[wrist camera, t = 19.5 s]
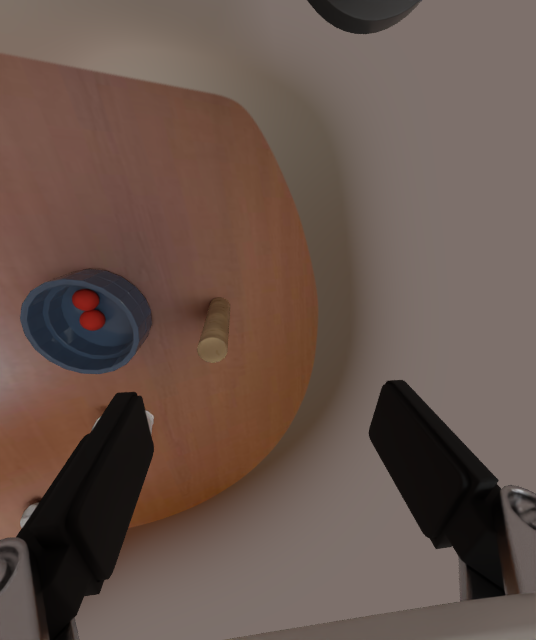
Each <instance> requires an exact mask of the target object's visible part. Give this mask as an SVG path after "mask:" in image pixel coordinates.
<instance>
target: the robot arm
mask: <svg viewBox="0 0 536 640" xmlns="http://www.w3.org/2000/svg"><path fill="white" fill-rule="evenodd" d="M369 437H370V440H371V442H372V443H373V445H374V447H375V449H376V451H377V452H378V454H379V456H380V458H381V460H382V461H383V463H384V465H385V467H386V469H387V470H388V472H389V474H390V476H391V477H392V479H393V481H394V483H395V485H396V486H397V488H398V490H399V492H400V493H401V495H402V497H403V499H404V500H405V502H406V504H407V506H408V508H409V509H410V511H411V513H412V515H413V516H414V518H415V520H416V522H417V523H418V525H419V527H420V529H421V531H422V532H423V534H424V535H425V536H426V537H428V538H430V540H431V541H432V543H433V545H434V547H435V548H436V549H440V548H447V547H451V546H453V548H454V549H455V551H456V552H457V554H458V556H459V580H460V602H454V603H448V604H442V605H435V606H429V607H423V608H416V609H410V610H403V611H397V612H391V613H385V614H378V615H372V616H366V617H359V618H354V619H347V620H342V621H335V622H329V623H323V624H317V625H310V626H304V627H299V628H292V629H286V630H280V631H274V632H268V633H261V634H256V635H250V636H244V637H238V638H232V639H227V640H536V494H535V493H533V492H531V491H529V490H527V489H524V488H522V487H519V486H512V485H508V486H504V487H503V488H502V489H501V488H500V487H499V486H498V485H497V482H498V479H497V478H496V477H495V476H494V475H493V474H492V473H491V472H490V471H489V470H488V469H487V467H486V466H485V465H484V464H483V463H482V462H480V460H479V459H478V458H477V457H476V456H475V455H474V454H473V453H472V452H471V451H470V450H469V449H468V448H467V446H466V445H465V444H464V443H463V442H462V441H461V440H460V439H459V438H458V437H457V436H456V435H455V434H454V433H453V432H452V431H451V430H450V429H449V427H448V426H447V425H446V424H445V423H444V422H443V421H442V420H441V419H440V418H439V417H438V416H437V415H436V414H435V413H434V411H433V410H432V409H431V408H429V406H428V405H427V404H426V403H425V402H424V401H423V400H422V399H421V398H420V397H419V396H418V395H417V394H416V392H415V391H414V390H413V389H412V388H411V387H410V386H409V385H408V384H407V383H406V382H405V381H403V380H392V381H387V382H386V384H385V385H383V386H382V389H381V392H380V396H379V399H378V402H377V405H376V409H375V412H374V415H373V419H372V422H371V425H370V429H369ZM153 452H154V445H153V441H152V437H151V432H150V428H149V424H148V420H147V416H146V412H145V407H144V403H143V399H142V397H141V396H137V393H136V392H124V393H117V394H116V395H115V396H114V397H113V399H112V401H111V402H110V404H109V405H108V407H107V408H106V410H105V411H104V413H103V414H102V416H101V417H100V419H99V420H98V422H97V424H96V425H95V427H94V428H93V430H92V431H91V433H90V434H87V435H86V436H84V438H83V439H82V440H81V441H80V443H79V444H78V446H77V447H76V449H75V450H74V452H73V453H72V455H71V456H70V458H69V459H68V461H67V462H66V464H65V465H64V467H63V468H62V469H61V471H60V472H59V474H58V475H57V477H56V478H55V480H54V481H53V483H52V484H51V486H50V487H49V489H48V490H47V492H46V493H45V495H44V496H43V498H42V499H41V501H40V502H39V504H38V505H37V507H36V508H35V510H34V511H33V513H32V514H31V516H30V517H29V519H28V520H27V522H26V523H25V525H24V526H23V528H22V529H21V531H20V532H19V534H18V535H17V537H16V538H5V539H2V540H0V640H79V636H78V631H77V627H76V622H75V618H74V617H75V616H76V615H77V612H78V610H79V608H80V605H81V603H82V600H83V598H84V596H89V595H96V594H99V593H100V591H101V588H102V585H103V582H104V580H106V579H109V578H110V576H111V575H112V573H113V570H114V568H115V565H116V562H117V559H118V556H119V553H120V550H121V547H122V544H123V541H124V538H125V535H126V532H127V530H128V527H129V524H130V521H131V518H132V515H133V512H134V509H135V506H136V503H137V500H138V497H139V495H140V492H141V489H142V486H143V483H144V480H145V477H146V474H147V471H148V468H149V465H150V462H151V460H152V457H153Z"/></svg>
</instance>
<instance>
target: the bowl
mask: <svg viewBox="0 0 536 640" xmlns="http://www.w3.org/2000/svg"><path fill="white" fill-rule="evenodd" d="M81 289H89V290H92V291H94V292H95V293H96V294H97V295H98V296H99V304H98V306H97V307H96V308H95V309H94V310H98V311H100V312H102V313H103V314H104V316H105V319H106V320H105V324H104V326H103V327H102V328H100V329H98V330H94V331H91V330H87V329H85V328H83V327H82V326H81V324H80V321H79V319H80V316H81V314H82V313H83V312H85V311H83V310H80V309H78V308H76V307H75V306H74V304H73V302H72V296H73V294H74V293H75V292H76V291H78V290H81ZM20 320H21V324H22V327H23V331H24V334H25V336H26V337H27V339H28V340H29V342H30V343H31V345H32V346H33V347H34V349H35V350H36V351H38V352H39V353H40V354H41V355H42V356H44V357H45V358H46V359H47V360H49V361H50V362H52V363H54V364H56V365H58V366H60V367H62V368H64V369H67V370H71V371H75V372H78V373H84V374H102V373H107V372H111V371H115V370H117V369H118V368H120V367H122V366H124V365H126V364H127V363H128V362H129V361H130V360H131V358H132V357H133V356H134V355H135V354H136V352H137V351H138V349H139V348H140V347H141V345H142V344H143V342H144V341H145V340H146V338H147V337H148V335H149V332H150V329H151V326H152V318H151V310H150V308H149V305H148V303H147V301H146V299H145V297H144V296H143V295H142V294H141V293H140V291H139V290H138V289H137V288H136V287H135V286H134V285H132V284H131V283H130V282H128V281H127V280H125V279H124V278H123V277H121V276H118V275H116V274H113V273H110V272H108V271H104V270H95V269H85V270H80V271H75V272H71V273H69V274H66V275H63V276H61V277H58V278H55V279H53V280H50V281H47V282H45V283H43V284H41V285H40V286H38V287H36V288H35V289H33V290H32V291H30V293H29V294H28V296H27V297H26V299H25V300H24V302H23V303H22V307H21V316H20Z"/></svg>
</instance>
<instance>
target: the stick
mask: <svg viewBox="0 0 536 640" xmlns="http://www.w3.org/2000/svg"><path fill="white" fill-rule="evenodd" d="M229 320H230V304H229V302H228V301H227V300H226V299H224V298H215V299H213V300H212V301H211V303H210V306H209V309H208V313H207V316H206V320H205V323H204V327H203V330H202V334H201V337H200V340H199V344H198V348H197V352H198V354H199V356H200V357H201V358H202V359H203V360H204V361H207V362H211V363H215V362H219V361H221V360H222V359H224V358H225V356H226V354H227V348H228V334H229Z"/></svg>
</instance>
